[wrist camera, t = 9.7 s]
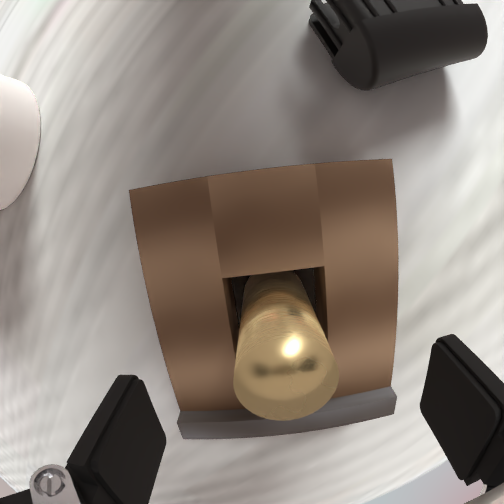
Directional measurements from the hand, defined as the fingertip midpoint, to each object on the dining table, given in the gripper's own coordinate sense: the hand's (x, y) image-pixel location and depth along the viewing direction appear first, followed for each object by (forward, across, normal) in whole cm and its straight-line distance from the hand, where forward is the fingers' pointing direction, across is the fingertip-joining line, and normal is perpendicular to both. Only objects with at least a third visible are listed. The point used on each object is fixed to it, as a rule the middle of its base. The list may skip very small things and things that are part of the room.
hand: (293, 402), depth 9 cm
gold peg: (+12, 0, +1) cm, 12 cm away
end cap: (+13, -10, -16) cm, 23 cm away
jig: (+12, 0, +1) cm, 12 cm away
